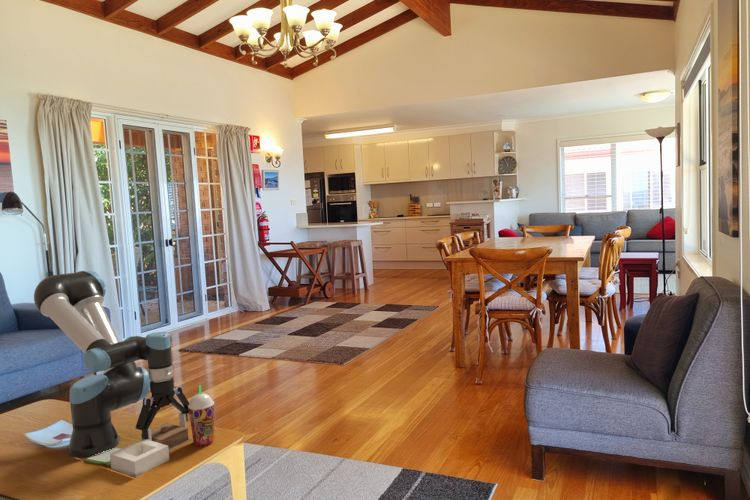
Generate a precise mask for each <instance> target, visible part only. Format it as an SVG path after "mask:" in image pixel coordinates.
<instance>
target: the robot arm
mask: <svg viewBox="0 0 750 500" xmlns="http://www.w3.org/2000/svg"><path fill="white" fill-rule="evenodd" d="M105 287H106V283H105V281H104V279H103V278H102V276H100V274H99V273H97V272H95V271H92V270H86V271H85V270H80V271H77V272H70V273H69V272H68V273H62V274H61V273H60V274H54V275H49V276H47V277H45V278H43V279H41V281H39V283H38V284H37V286H36V287H35V289H34V293H33V301H34V305H35V307H36V309H37V310H38V311H39V313H41V315H42V316H45V317H47V318H50V319H51V320H52V321H53V323H55V324H56V326H57V327H58V328H59V329H60V330H61V331H62V332H63V333H64V335H66V336H67V337H68V338H69V339H70V341H71V342H72V343H74V344H75V345H76V346H77V348H79V349H80V351H82V353H83V354H84V355H83V363H84V365H85V368H86V370H87V371H88V372H90V373H98V372H102V374H95V375H92V376H91V375H90V376H87V377H84V378H81V379H79V380H77V381H76V382H75V383H73V384H72V385H71V386H70V388H69V399H68V400H69V404H70V413H71V424H72V432H71V436H70V438H69V439H70V440H69V444H68V454H69V456H70V457H73V458H87V457H88V458H89V457H93V456H92V455H94V456H96V455H95V454H98V453H101V452H103V451H106V450H109V449H111V450H113V449H115V448H116V447H118V445H119V443H120V439H119V438H120V437H119V435H118V433H117V430H116V428H115V426H114V424H113V422H112V413H111V412H113V411H116V410H118V409H121V408H125V407H127V406H130V405H132V404H136V403H137V402H140V401H142V406H141V408H140V412H139V415H138V419H137V421H136V425H135V428H134V429H136V430H139V431H141V434H142V437H141V439H142V438H143V439H145V440H146V439H147V440H150V441H152V437H151V430H152V429H151V428H150V427H151V425H152V422H153V420H154V419H155V417H156V415H157V413H158V411H160V410H161V408H165V407H166V406H170V405H172V407H174V408H175V409H177V410H178V411H179V413H178V418H179V426H181V427H185V428H188V425H187V424H188V421H189V418H188V415H189V408H188V405H189V403H190V401H189V400H188V399H187V397H186V395H185V394H184V393H183V388H182V387H181V386H175V381H174V380H175V379H174V377H173V376H174V371H173V358H172V343H171V338H170V334H169V333H168V332H166V331H156V332H151V333H149V334H147V335H146V336H145V337H144V336H139V335H134V336H133V335H132V336H128V337H127V338H125V339H124V340H122V341H120V339H119V337H118V335H117V333H116V331H115V328H114V327H113V325H112V323H111V320H110V319H109V316H108V315H107V312H106V310H105V308H104V306H103V302H104V300H105V298H104V297H105V295H106V288H105ZM139 360H141V361H147V365H148V366H147V368H148V370H147V369H146V368H144V367H143V366H138V365H137V364H136V361H139ZM149 392H150V393H151V396H150V397H148V395H149ZM175 395H176V397H177V399H178V400H179V401H178V400H177V399H176V398H174V396H175ZM147 397H148V398H147ZM179 402H180V403H179ZM112 448H113V449H112ZM109 451H110V450H109ZM98 455H99V454H98Z"/></svg>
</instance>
